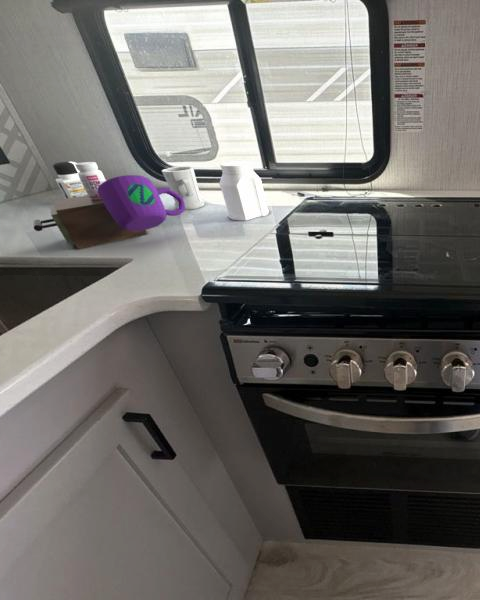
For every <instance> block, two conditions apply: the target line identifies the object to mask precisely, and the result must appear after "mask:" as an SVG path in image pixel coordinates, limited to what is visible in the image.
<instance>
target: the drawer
mask: <svg viewBox="0 0 480 600" xmlns="http://www.w3.org/2000/svg"><path fill="white" fill-rule="evenodd" d="M49 210H50V217H52V218H49V219H43V220H42V219H34V220H33V230H34V231H36V232H41V231H42V230H43V229H47V228H52V227H57V228H58V230H59V232H60V233H61V234H62V236H63V238H64V240H65V241H66V243H67V245H68V246H69V247H73V246H76V245H75V243H74V241H73V240H72V238H71V236H70V234H69V233H68V231H67V229H66V227H65V226H64V224H63V222H62V221H61V219H60V217H59V215H58V214H57V212H56V208H55V204H50V205H49Z"/></svg>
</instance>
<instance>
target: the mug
mask: <svg viewBox="0 0 480 600" xmlns="http://www.w3.org/2000/svg"><path fill="white" fill-rule="evenodd" d="M106 180H107V181H105V182H103V183H102V184H101V185H100V186H99V187H98V194H99V196H100V198H101V199H102V201H103V203H104V205H105V206H106V208H107V210H108V211H109V213H110V215H111V216H112V218H113V219H114V220H115V222H116V223H117V224H118V225H119V226H120V227H121V228H123V229H125V230H129V231H141V230H146V231H147V230H150V229H153V228H156V227H158V226H160V225H161V224H163V223H164V222H165V221H166V219H167V216H168V217H169V216H170V217H171V216H173V217H174V216H179V215H182V214H183V213H184V212H185V211H186V210H185V203H184V200H183V198H182V197H181V196H180V195H178V194H177V193H175V192H174V191H172V190H170V188H166V187H161V188H156V186H155V184H154V183H153V181H152V180H151V179H150V178H148V177H146V176H144V175H143V176H142V175H136V174H127V175H119V176H115V177H111V178H109V179H106ZM164 194H167V195H169V196H171V197H172V198H173V197H174V198H175V199H177V200H178V202H179V209H177V208H176V209H173V210H172V209H171V210H170V209H166V208H165V205H164V203H163V201H162V199H161V196H160V195H164ZM174 198H173V199H174Z"/></svg>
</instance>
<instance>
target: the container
mask: <svg viewBox="0 0 480 600" xmlns="http://www.w3.org/2000/svg"><path fill="white" fill-rule="evenodd" d="M76 163H77V162H76V161H60V162H55V163H53V165H52V168H53V169H54V171H55V173H56V175H57V177H58V178H56V179H55V182H56V184H57V186H58V187H59V190H60V192H61V193H62V195H63V197H64V199H67V198H73V197H80V196H87V195H88V194H87V192H86V190H85V188H84V186H83V184H82V182H81V180H80V178H79V176H78V173H79V172H80V171H78V169H77V168H76V166H75V164H76Z"/></svg>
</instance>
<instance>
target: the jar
mask: <svg viewBox="0 0 480 600" xmlns="http://www.w3.org/2000/svg"><path fill="white" fill-rule="evenodd" d="M220 168H221V172H222V174H221V177H220V180H219V183H218V185H219V187H220V189H221V193H222V197H223V199H224V203H225V206H226V207H225V208H226V210H227V214H228V217H229V219H231V220H233V221H248V220H249V221H250V220H252V219H255V218H260V217H265V216H267V215H268V214H269V208H268V205H267V201H266V195H265V191H264V186H263V182H262V178H261V177H260V176H259V175H258V174H257V173H256V171H254V169H253V164H252V161H249V160H234V161H227V162H222V163H221V164H220Z"/></svg>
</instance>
